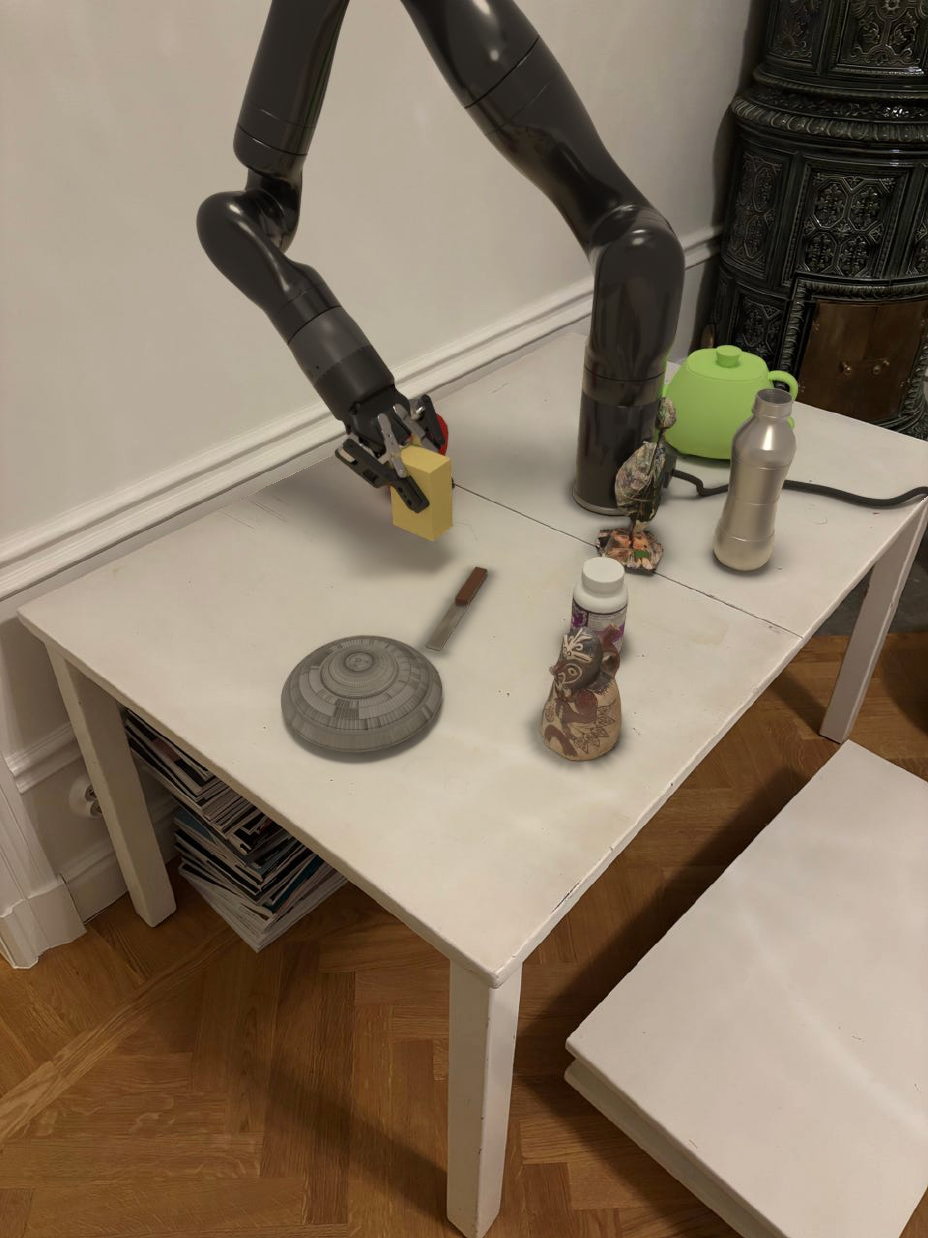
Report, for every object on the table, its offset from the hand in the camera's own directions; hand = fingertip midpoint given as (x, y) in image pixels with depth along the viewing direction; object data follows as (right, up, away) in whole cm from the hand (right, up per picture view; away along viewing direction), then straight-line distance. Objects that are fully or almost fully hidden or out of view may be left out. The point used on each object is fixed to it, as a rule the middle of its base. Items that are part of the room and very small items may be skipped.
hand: (436, 499), depth 100 cm
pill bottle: (+16, -15, -5) cm, 23 cm away
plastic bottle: (+34, -6, +6) cm, 35 cm away
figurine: (+13, -23, -14) cm, 30 cm away
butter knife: (+3, -11, 0) cm, 11 cm away
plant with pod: (+22, -5, +8) cm, 24 cm away
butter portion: (-2, -2, +3) cm, 5 cm away
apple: (-3, +3, +18) cm, 18 cm away
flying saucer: (-7, -21, -11) cm, 24 cm away
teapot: (+35, +11, +27) cm, 46 cm away
